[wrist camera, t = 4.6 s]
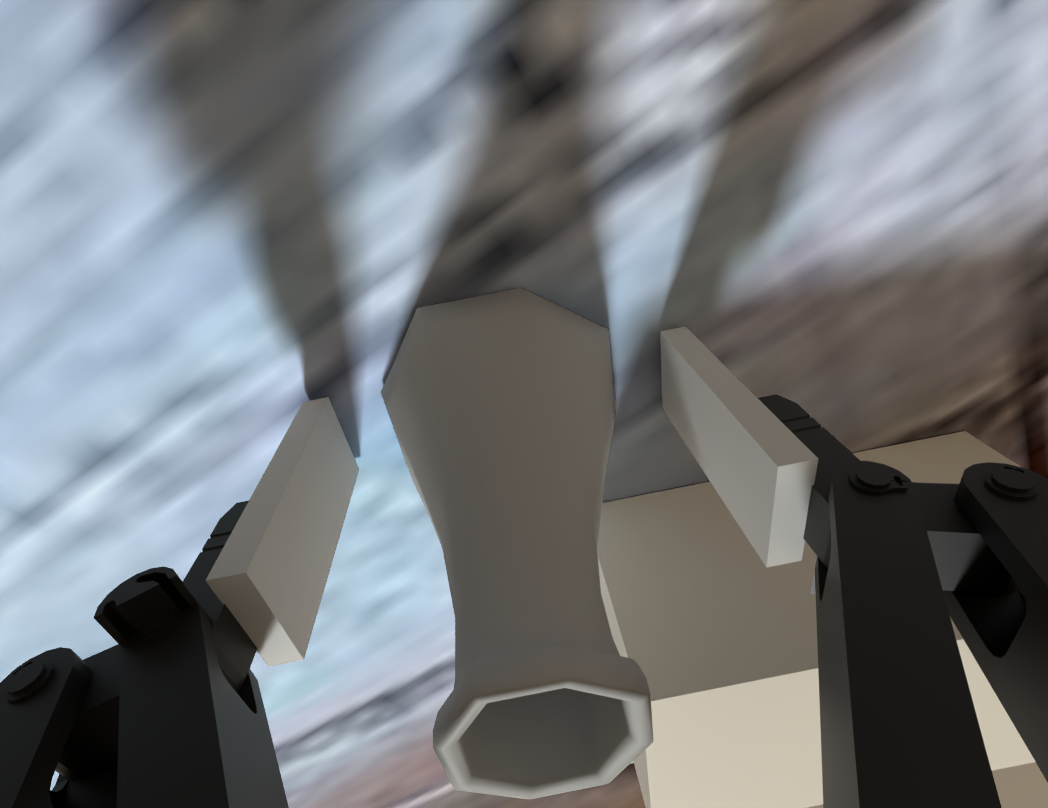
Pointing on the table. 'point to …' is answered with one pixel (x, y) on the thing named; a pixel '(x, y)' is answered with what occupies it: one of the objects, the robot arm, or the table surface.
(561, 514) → the flask
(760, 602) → the block
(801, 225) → the table surface
